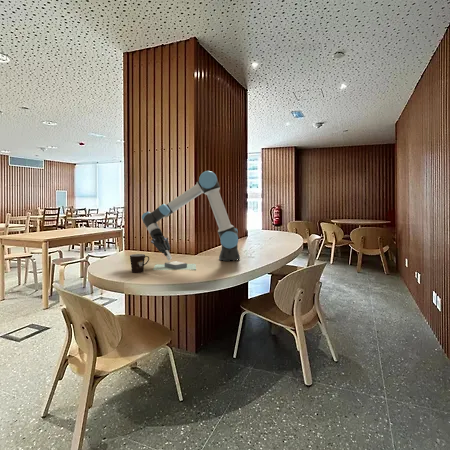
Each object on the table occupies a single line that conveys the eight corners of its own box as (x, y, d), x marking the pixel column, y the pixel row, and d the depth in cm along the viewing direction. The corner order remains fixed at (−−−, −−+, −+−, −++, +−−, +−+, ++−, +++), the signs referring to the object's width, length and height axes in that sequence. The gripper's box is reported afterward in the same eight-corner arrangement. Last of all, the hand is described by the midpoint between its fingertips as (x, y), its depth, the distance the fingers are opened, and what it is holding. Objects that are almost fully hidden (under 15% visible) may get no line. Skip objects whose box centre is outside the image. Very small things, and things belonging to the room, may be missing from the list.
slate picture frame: (164, 262, 196) (175, 265, 188) (176, 260, 202) (186, 263, 195) (164, 266, 196) (175, 269, 188) (176, 265, 202) (186, 267, 195)
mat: (195, 264, 207) (195, 263, 207) (196, 270, 189) (196, 269, 189) (155, 265, 204) (155, 264, 204) (152, 271, 186) (152, 270, 186)
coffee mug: (130, 273, 178) (130, 256, 178) (129, 271, 186) (129, 254, 186) (151, 272, 183) (151, 255, 182) (149, 269, 191) (149, 253, 190)
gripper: (160, 234, 215) (175, 261, 205) (144, 235, 206) (159, 264, 196) (165, 227, 211) (180, 254, 201) (148, 228, 202) (164, 256, 192)
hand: (170, 259), depth 198 cm, fingers closed
